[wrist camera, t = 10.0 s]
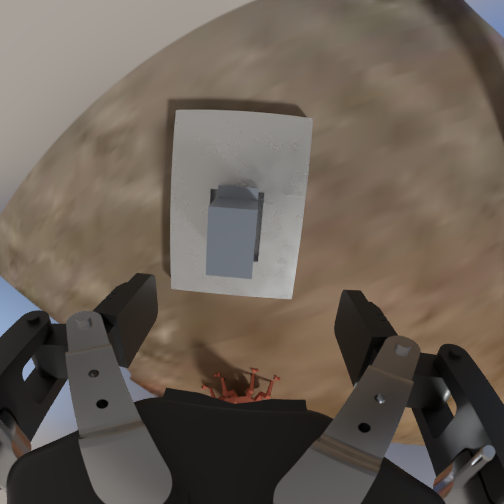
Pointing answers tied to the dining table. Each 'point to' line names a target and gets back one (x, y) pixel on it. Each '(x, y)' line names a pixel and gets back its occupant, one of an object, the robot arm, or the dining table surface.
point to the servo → (232, 232)
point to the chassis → (239, 174)
